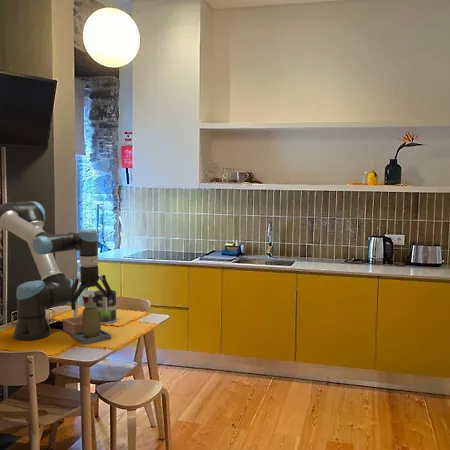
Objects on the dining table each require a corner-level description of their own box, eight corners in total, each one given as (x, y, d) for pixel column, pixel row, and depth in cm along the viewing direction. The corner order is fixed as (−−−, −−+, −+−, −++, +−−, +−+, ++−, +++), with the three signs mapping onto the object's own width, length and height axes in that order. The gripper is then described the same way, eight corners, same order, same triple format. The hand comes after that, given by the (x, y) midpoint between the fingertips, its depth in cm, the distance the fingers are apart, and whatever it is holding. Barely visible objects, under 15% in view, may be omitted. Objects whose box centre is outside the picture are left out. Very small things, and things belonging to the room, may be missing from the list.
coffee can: (117, 322, 264) (116, 293, 263) (94, 324, 262) (93, 294, 261) (116, 317, 274) (115, 289, 273) (95, 318, 272) (94, 290, 271)
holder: (74, 336, 243) (74, 324, 243) (63, 330, 253) (62, 319, 252) (100, 330, 251) (100, 320, 250) (88, 325, 261) (88, 314, 260)
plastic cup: (81, 319, 270) (81, 295, 269) (81, 314, 280) (80, 290, 279) (104, 318, 273) (104, 294, 272) (103, 312, 283) (102, 289, 282)
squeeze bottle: (80, 335, 242) (79, 294, 241) (99, 332, 245) (98, 292, 244) (83, 339, 235) (81, 297, 233) (102, 337, 238) (101, 295, 236)
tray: (84, 344, 231) (84, 339, 231) (72, 337, 241) (72, 333, 240) (111, 338, 239) (110, 334, 239) (98, 332, 248) (98, 328, 248)
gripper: (64, 270, 226) (66, 321, 228) (119, 263, 242) (121, 311, 244) (57, 267, 232) (59, 317, 234) (111, 261, 247) (112, 308, 249)
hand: (90, 314), depth 239 cm, fingers open, 13 cm apart
